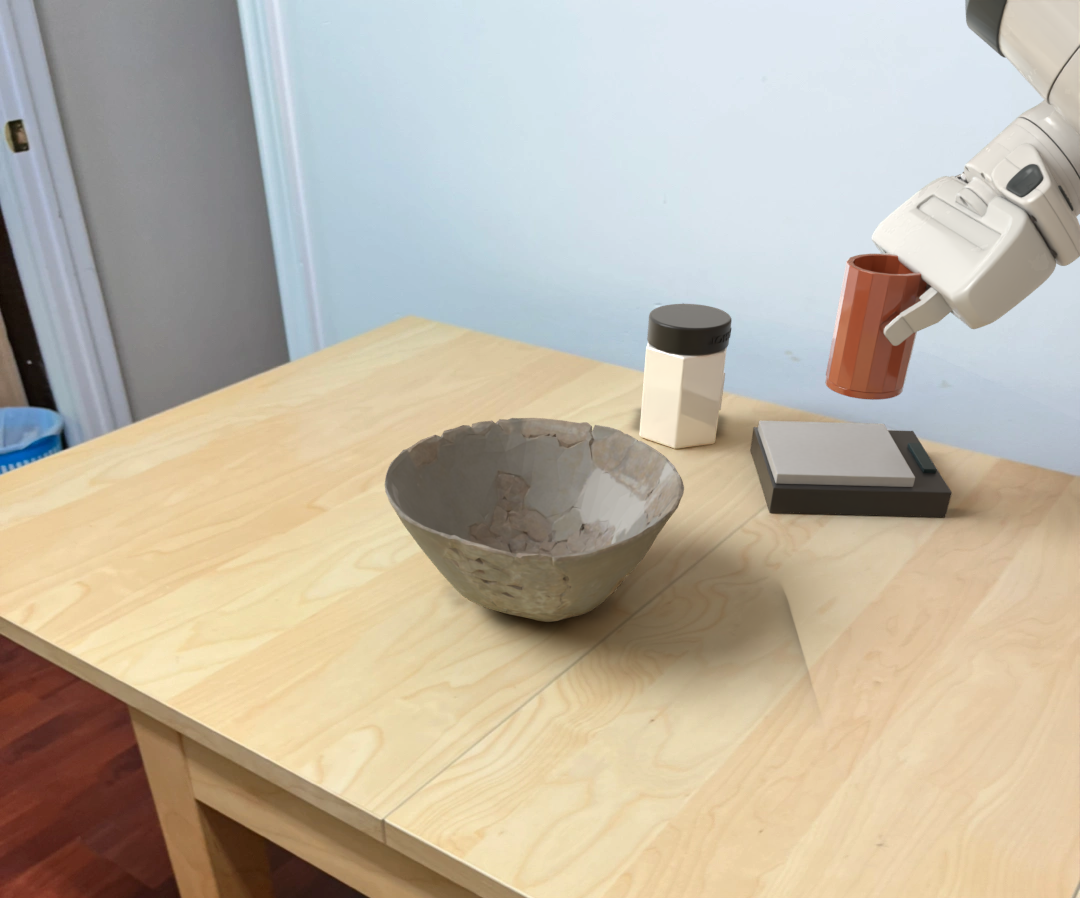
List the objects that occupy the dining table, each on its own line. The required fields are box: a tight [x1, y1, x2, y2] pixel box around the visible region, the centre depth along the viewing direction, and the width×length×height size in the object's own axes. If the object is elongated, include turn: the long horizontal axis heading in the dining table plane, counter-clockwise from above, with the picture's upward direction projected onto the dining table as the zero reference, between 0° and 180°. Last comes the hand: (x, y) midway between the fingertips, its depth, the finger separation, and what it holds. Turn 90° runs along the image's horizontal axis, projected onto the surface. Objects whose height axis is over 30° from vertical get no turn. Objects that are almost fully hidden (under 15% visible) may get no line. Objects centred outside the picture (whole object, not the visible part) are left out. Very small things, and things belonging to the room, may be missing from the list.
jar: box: [639, 303, 732, 450], centre depth 106 cm, size 9×8×12 cm
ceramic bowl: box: [384, 417, 685, 623], centre depth 81 cm, size 22×23×10 cm
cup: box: [824, 253, 928, 401], centre depth 87 cm, size 7×7×10 cm
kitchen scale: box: [749, 420, 953, 518], centre depth 99 cm, size 16×14×4 cm
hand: (869, 322), depth 87 cm, fingers closed on cup, 7 cm apart
